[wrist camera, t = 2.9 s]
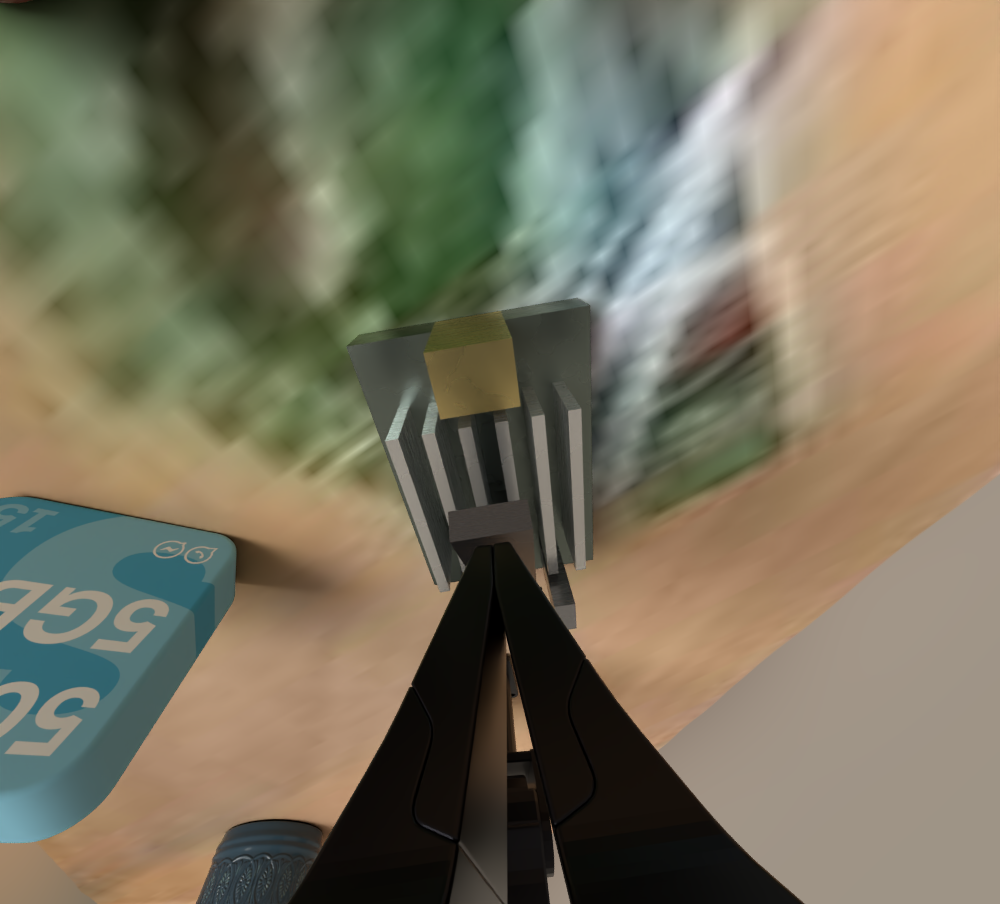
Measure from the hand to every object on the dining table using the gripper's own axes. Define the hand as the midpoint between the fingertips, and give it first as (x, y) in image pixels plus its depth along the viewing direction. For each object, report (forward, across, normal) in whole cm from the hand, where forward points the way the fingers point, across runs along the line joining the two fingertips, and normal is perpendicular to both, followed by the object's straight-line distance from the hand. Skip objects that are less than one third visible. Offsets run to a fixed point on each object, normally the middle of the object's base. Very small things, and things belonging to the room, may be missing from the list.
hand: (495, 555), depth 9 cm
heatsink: (+11, 0, +4) cm, 12 cm away
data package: (+11, +22, +6) cm, 25 cm away
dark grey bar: (+4, 0, +5) cm, 6 cm away
